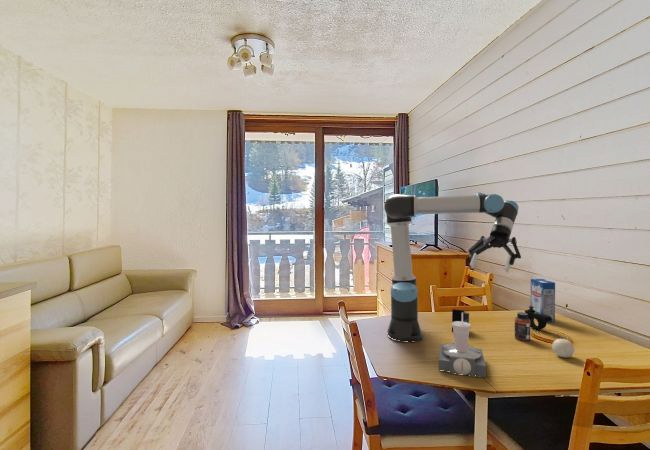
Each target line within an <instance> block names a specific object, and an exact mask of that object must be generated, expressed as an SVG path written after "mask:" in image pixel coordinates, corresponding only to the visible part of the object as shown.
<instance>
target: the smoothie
mask: <svg viewBox="0 0 650 450" xmlns="http://www.w3.org/2000/svg"><path fill="white" fill-rule="evenodd" d="M452 327H453V339H454V343H455V348H456V350H457V351H459V352H466V351H467V345H469V344H468V343H469V336H470V329H471V328H472V327H471V323H470V322H469V323H467V322H463V312H462V321H455V322H452V321H451V328H452Z"/></svg>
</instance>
